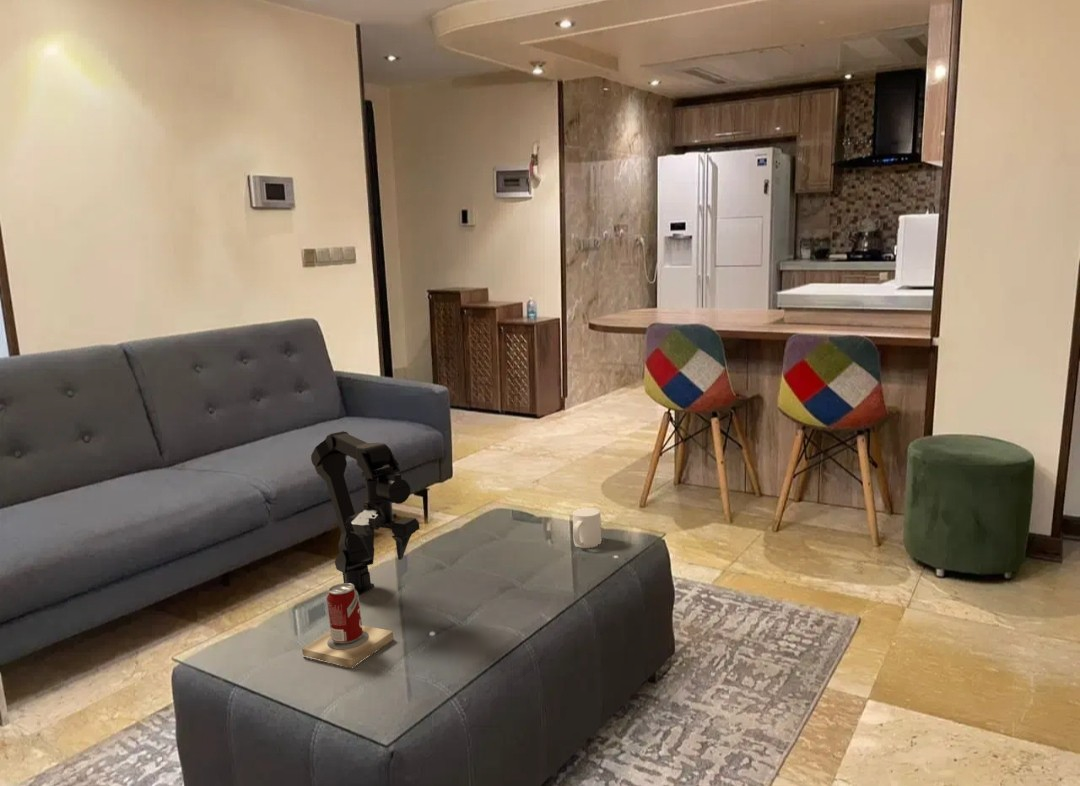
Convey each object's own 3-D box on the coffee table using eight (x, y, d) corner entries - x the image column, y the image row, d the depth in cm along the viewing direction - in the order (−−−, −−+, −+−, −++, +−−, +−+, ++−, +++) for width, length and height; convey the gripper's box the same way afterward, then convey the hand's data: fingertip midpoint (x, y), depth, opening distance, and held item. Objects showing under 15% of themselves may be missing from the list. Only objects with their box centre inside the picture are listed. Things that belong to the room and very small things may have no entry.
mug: (581, 505, 240) (605, 508, 236) (583, 535, 241) (607, 538, 237) (562, 518, 229) (587, 521, 225) (564, 549, 231) (589, 552, 227)
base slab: (303, 657, 177) (302, 648, 176) (346, 629, 189) (345, 621, 188) (352, 668, 170) (350, 659, 170) (393, 639, 182) (392, 630, 182)
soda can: (343, 648, 174) (337, 596, 172) (325, 640, 179) (319, 590, 177) (369, 636, 179) (363, 585, 177) (351, 629, 184) (345, 579, 182)
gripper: (326, 502, 193) (334, 564, 195) (388, 509, 184) (395, 574, 186) (357, 489, 202) (364, 548, 205) (417, 495, 193) (423, 557, 196)
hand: (385, 557), depth 198 cm, fingers open, 9 cm apart
